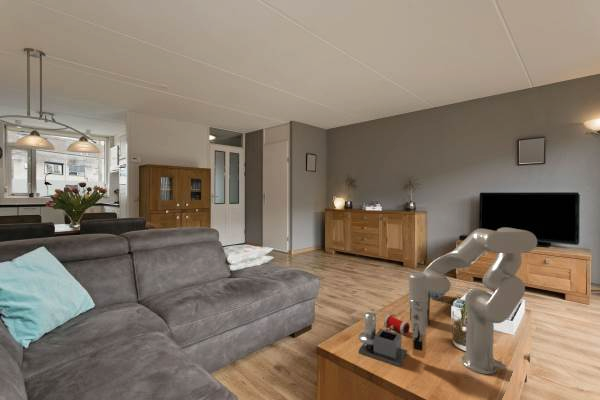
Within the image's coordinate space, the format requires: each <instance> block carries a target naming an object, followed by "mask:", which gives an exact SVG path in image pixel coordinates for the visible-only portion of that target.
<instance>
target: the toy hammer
mask: <svg viewBox="0 0 600 400" xmlns="http://www.w3.org/2000/svg"><path fill="white" fill-rule="evenodd" d="M383 325H384V327H386V329H385V330H387V331H391V330H395V331H397V332H398V333H400V334H402V335H404V336H405V335H408V334H409V332H410V329H411V328H410V327H411V326H410V325H411V324H410V323H409V321H405V320H404V321H403V320H400V319H398V318H395V317H393V315H391V314H387V315H385V316H384V320H383Z"/></svg>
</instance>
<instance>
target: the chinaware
mask: <svg viewBox="0 0 600 400" xmlns="http://www.w3.org/2000/svg"><path fill="white" fill-rule="evenodd" d="M446 294H447V292H446V293H443V294H438V293H430V299H432V300H440V299H441V298H443V297H444V296H445V295H446Z"/></svg>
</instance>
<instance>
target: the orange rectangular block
mask: <svg viewBox="0 0 600 400" xmlns="http://www.w3.org/2000/svg"><path fill="white" fill-rule="evenodd" d="M418 332H419V331H418ZM419 333H420V332H419ZM426 333H427V331H426V332H425V334H424V335H422V334H421V341H422V351H420V350H416V349H414V333H413V332H412V331H411V338H412V339H411V342H412V343H411V347H412V348H411V349H412V356H414V357H417V358H421V359H425V357H426V355H427V342H426V341H427V334H426ZM418 336H419V337H420V335H418Z"/></svg>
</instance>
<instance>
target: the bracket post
mask: <svg viewBox="0 0 600 400" xmlns="http://www.w3.org/2000/svg"><path fill="white" fill-rule="evenodd" d="M376 327H377V314H376V313H375V312H369V311H367V312H365V314H364V331H363V332H359V334H358V340H359V341H360V342H361V344H362V343H363V344H362V345H361V347H359V348H358V354H361V355H363V356H366V357H370V358H371V359H375V360H379V361H381V362H385V363H387V364H391V365H394V366H396V367H399V368H401V367H402V365H403V362H404V360H405V359H406V356H407V355H408V350H407V349H404V348H402V335H403V334H401V333H399V332H398V333H397V332H394V331H391V330H390V331H387V330H386V329H383V328H380V329H379V330H378V331H376V330H377V328H376Z"/></svg>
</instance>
